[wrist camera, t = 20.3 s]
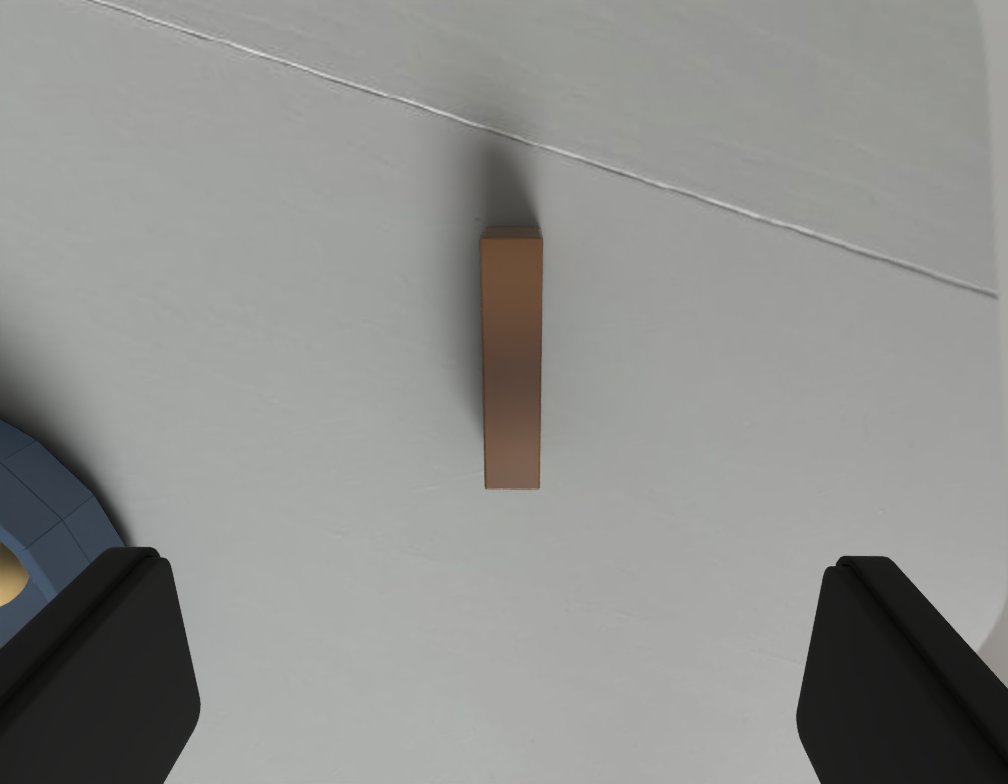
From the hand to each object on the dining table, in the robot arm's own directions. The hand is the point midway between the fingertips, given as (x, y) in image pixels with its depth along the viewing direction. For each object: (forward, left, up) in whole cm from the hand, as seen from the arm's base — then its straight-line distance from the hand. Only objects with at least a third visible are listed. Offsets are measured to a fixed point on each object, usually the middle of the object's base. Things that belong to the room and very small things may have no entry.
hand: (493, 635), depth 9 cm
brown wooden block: (0, 0, -16) cm, 16 cm away
